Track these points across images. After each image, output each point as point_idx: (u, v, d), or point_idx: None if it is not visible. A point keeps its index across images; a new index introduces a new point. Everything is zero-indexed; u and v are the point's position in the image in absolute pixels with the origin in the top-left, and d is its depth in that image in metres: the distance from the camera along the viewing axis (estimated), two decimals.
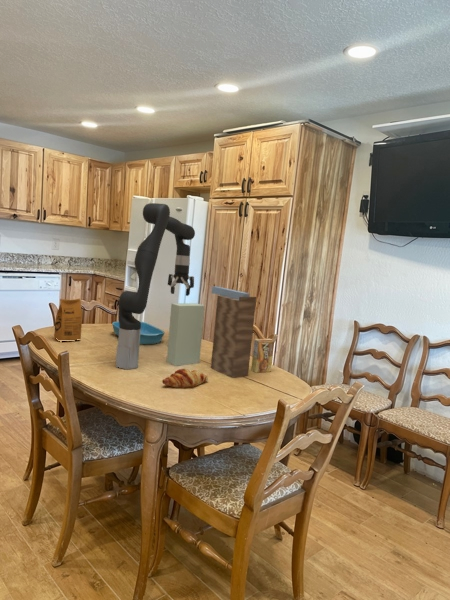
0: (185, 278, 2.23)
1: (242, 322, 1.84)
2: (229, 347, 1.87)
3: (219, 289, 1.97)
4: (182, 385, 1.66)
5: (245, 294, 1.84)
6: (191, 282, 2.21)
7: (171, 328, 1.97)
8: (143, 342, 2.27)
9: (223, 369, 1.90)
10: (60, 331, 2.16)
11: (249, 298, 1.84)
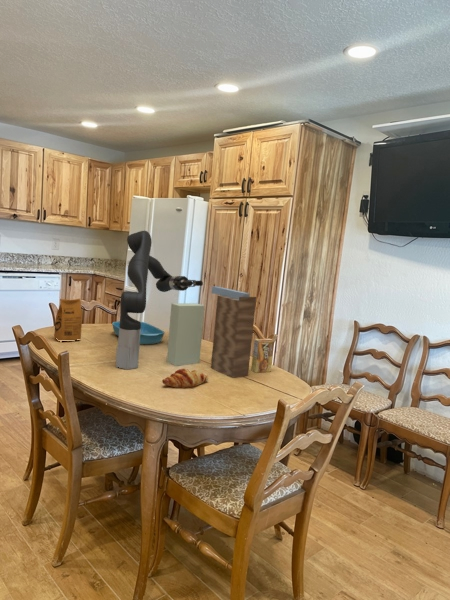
0: None
1: (242, 322, 1.84)
2: (229, 347, 1.87)
3: (219, 289, 1.97)
4: (182, 385, 1.66)
5: (245, 294, 1.84)
6: None
7: (171, 328, 1.97)
8: (143, 342, 2.27)
9: (223, 369, 1.90)
10: (60, 331, 2.16)
11: (249, 298, 1.84)
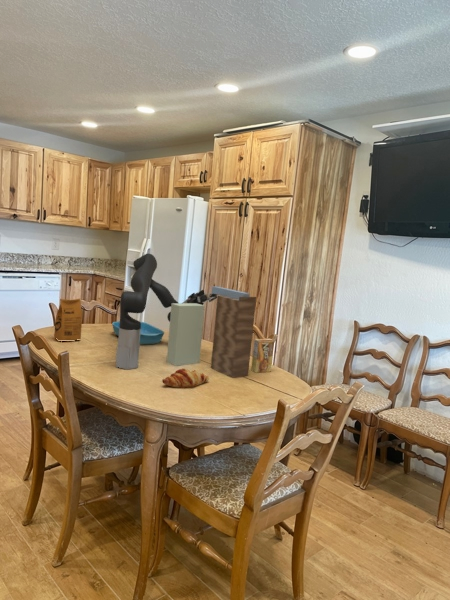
0: None
1: (242, 322, 1.84)
2: (229, 347, 1.87)
3: (219, 289, 1.97)
4: (182, 385, 1.66)
5: (245, 294, 1.84)
6: None
7: (171, 328, 1.97)
8: (143, 342, 2.27)
9: (223, 369, 1.90)
10: (60, 331, 2.16)
11: (249, 298, 1.84)
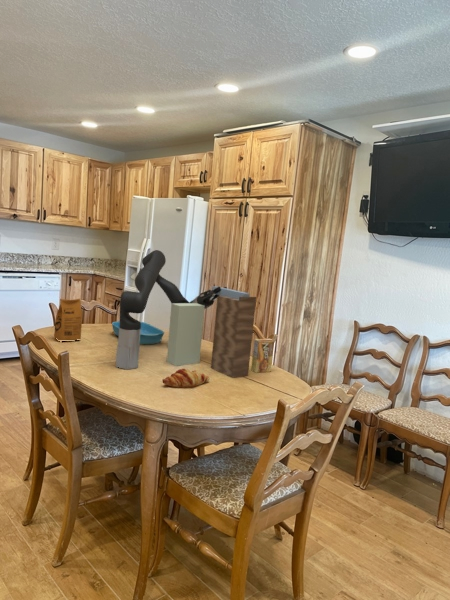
0: None
1: (242, 322, 1.84)
2: (229, 347, 1.87)
3: None
4: (182, 385, 1.66)
5: (245, 294, 1.84)
6: None
7: (171, 328, 1.97)
8: (143, 342, 2.27)
9: (223, 369, 1.90)
10: (60, 331, 2.16)
11: (249, 298, 1.84)
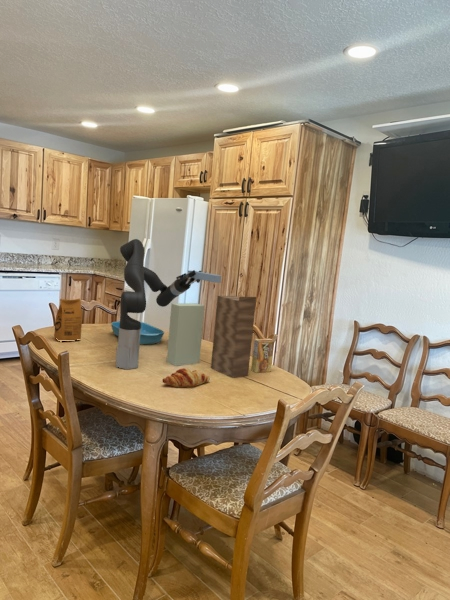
0: None
1: (242, 322, 1.84)
2: (229, 347, 1.87)
3: None
4: (182, 384, 1.66)
5: (217, 276, 1.93)
6: None
7: (171, 328, 1.97)
8: (143, 342, 2.28)
9: (223, 369, 1.90)
10: (60, 331, 2.16)
11: (249, 298, 1.84)
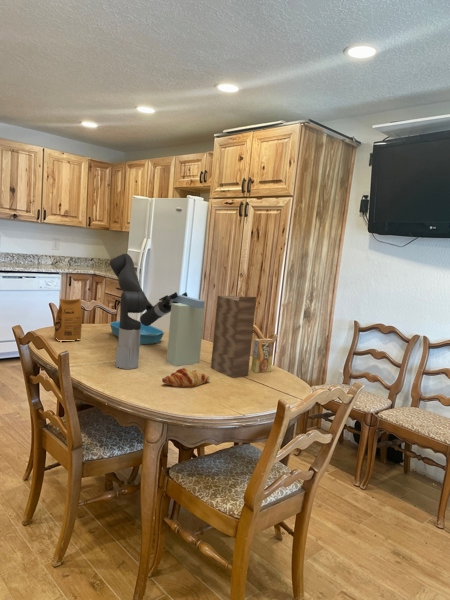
0: None
1: (242, 322, 1.84)
2: (229, 347, 1.87)
3: (177, 297, 2.03)
4: (181, 384, 1.67)
5: (200, 302, 1.90)
6: None
7: (171, 328, 1.97)
8: (144, 342, 2.28)
9: (223, 369, 1.90)
10: (60, 331, 2.16)
11: (249, 298, 1.84)
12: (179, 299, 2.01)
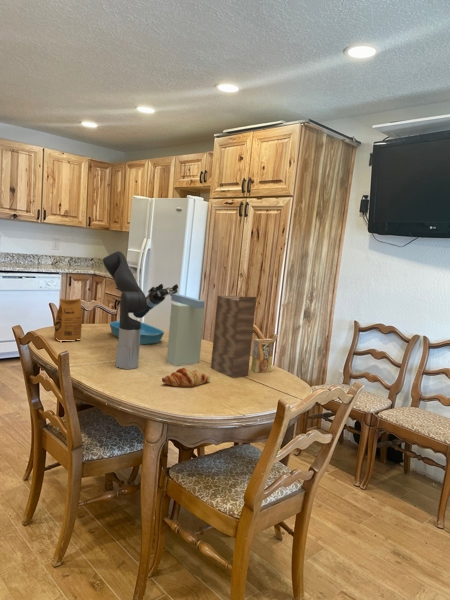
0: None
1: (242, 322, 1.84)
2: (229, 347, 1.87)
3: (177, 296, 2.03)
4: (181, 384, 1.67)
5: (200, 302, 1.90)
6: None
7: (171, 328, 1.97)
8: (144, 342, 2.28)
9: (223, 369, 1.90)
10: (60, 331, 2.16)
11: (249, 298, 1.84)
12: (179, 299, 2.01)
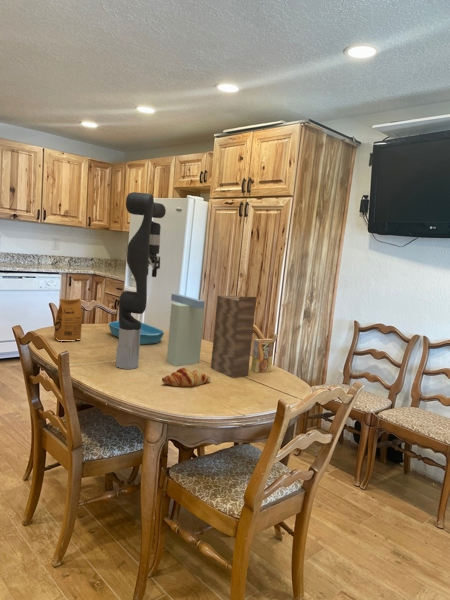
0: None
1: (242, 322, 1.84)
2: (229, 347, 1.87)
3: (177, 296, 2.03)
4: (181, 384, 1.67)
5: (200, 302, 1.90)
6: None
7: (171, 328, 1.97)
8: (144, 342, 2.28)
9: (223, 369, 1.90)
10: (60, 331, 2.16)
11: (249, 298, 1.84)
12: (179, 299, 2.01)
